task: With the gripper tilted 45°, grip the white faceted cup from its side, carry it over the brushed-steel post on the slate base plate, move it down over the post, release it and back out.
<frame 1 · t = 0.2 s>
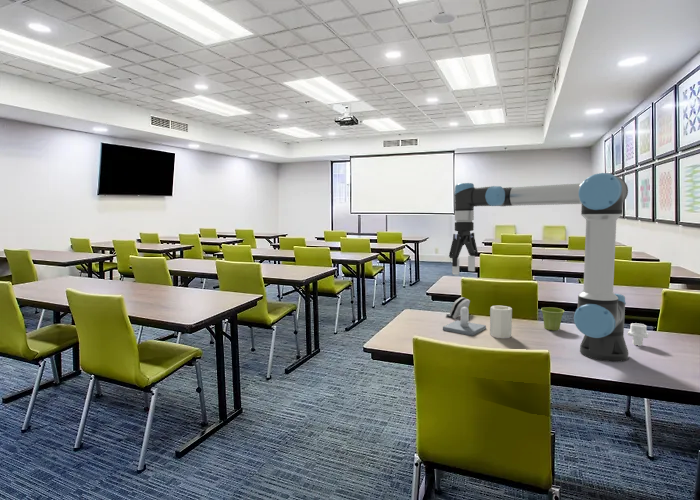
hand: (463, 272, 171), 28 cm above the table, tool pointing down, fingers open, 13 cm apart
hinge: (458, 315, 212), on the table
plant pot: (551, 329, 185), on the table
white faceted cup: (500, 335, 176), on the table
pipe fitting: (637, 345, 162), on the table
post base: (464, 329, 186), on the table
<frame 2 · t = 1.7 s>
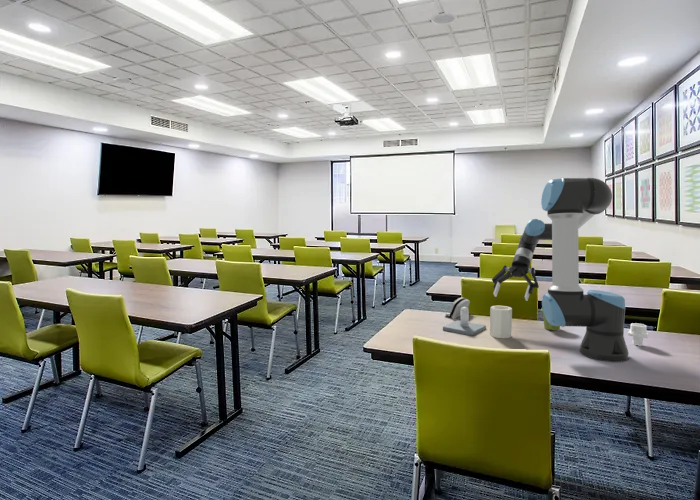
hand: (509, 297, 183), 15 cm above the table, tool tilted 45°, fingers open, 13 cm apart
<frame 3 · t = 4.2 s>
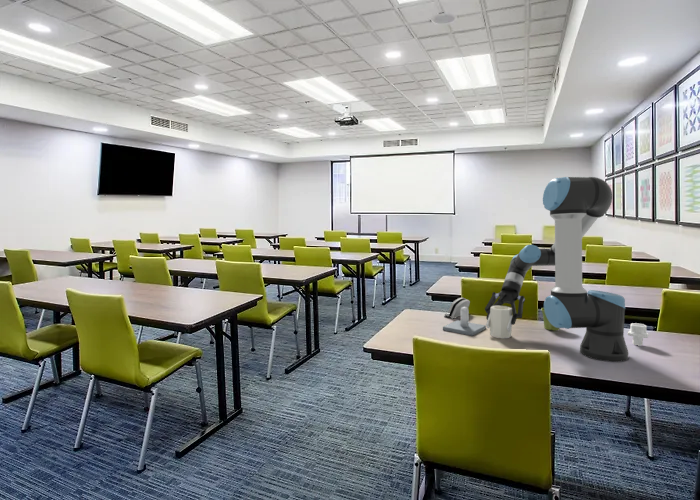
hand: (497, 328, 173), 4 cm above the table, tool tilted 45°, fingers closed on white faceted cup, 8 cm apart
white faceted cup: (500, 335, 176), on the table, touching gripper
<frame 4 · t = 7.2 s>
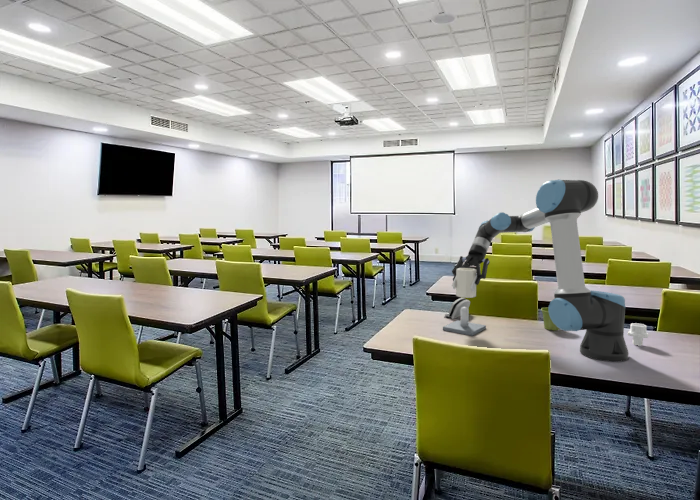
hand: (462, 288, 182), 19 cm above the table, tool tilted 45°, fingers closed on white faceted cup, 8 cm apart
white faceted cup: (465, 295, 185), point 15 cm above the table, touching gripper
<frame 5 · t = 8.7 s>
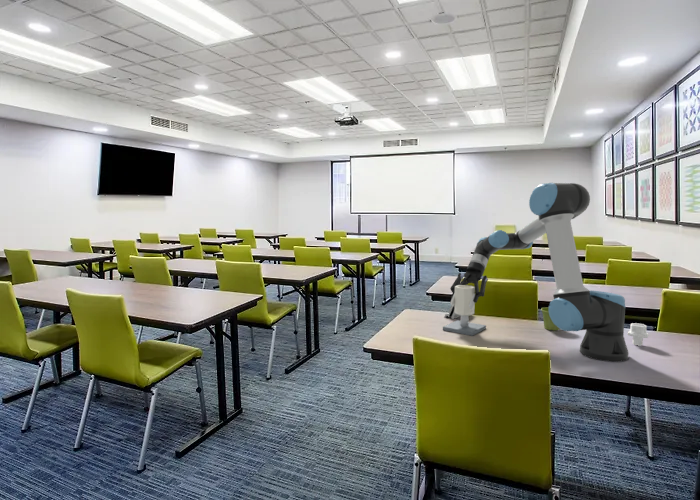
hand: (460, 306, 183), 11 cm above the table, tool tilted 45°, fingers closed on white faceted cup, 8 cm apart
white faceted cup: (464, 313, 186), point 7 cm above the table, touching gripper
when the fingers open (6 cm above the table, at t = 10.2 s): white faceted cup stays where it is, resting on post base.
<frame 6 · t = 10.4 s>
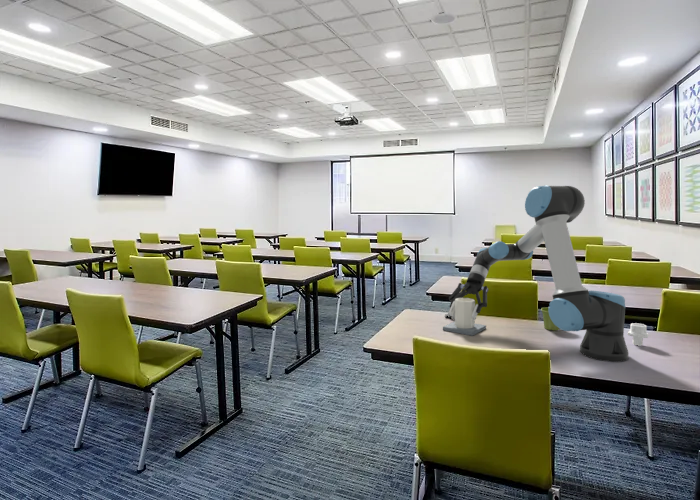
hand: (461, 316, 183), 7 cm above the table, tool tilted 45°, fingers open, 10 cm apart
white faceted cup: (464, 325, 186), point 1 cm above the table, touching post base
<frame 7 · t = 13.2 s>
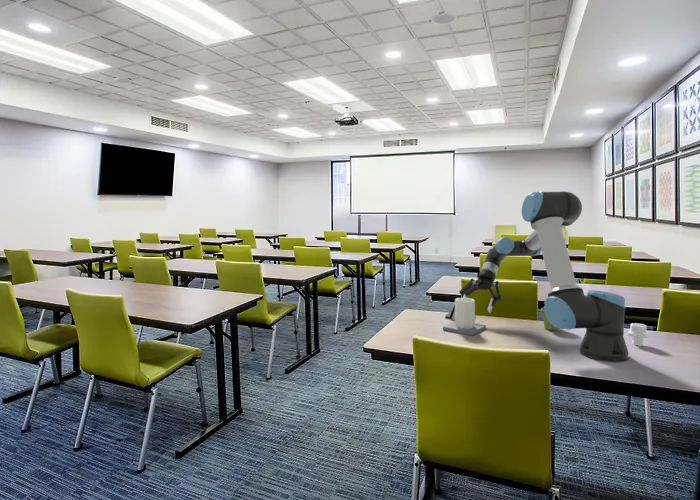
hand: (474, 309, 193), 7 cm above the table, tool tilted 45°, fingers open, 13 cm apart
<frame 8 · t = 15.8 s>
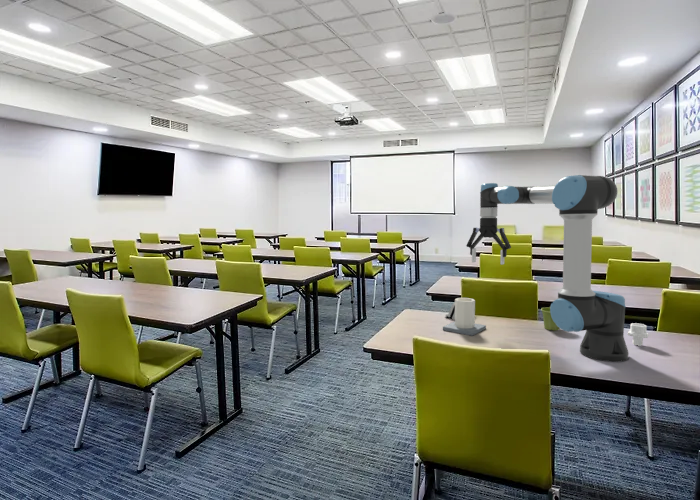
hand: (487, 263, 192), 29 cm above the table, tool pointing down, fingers open, 13 cm apart
at the end: white faceted cup 0.1 cm off-centre on the post base, point 1.5 cm above the post base's base; white faceted cup tilted 0°; the gripper is holding nothing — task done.
